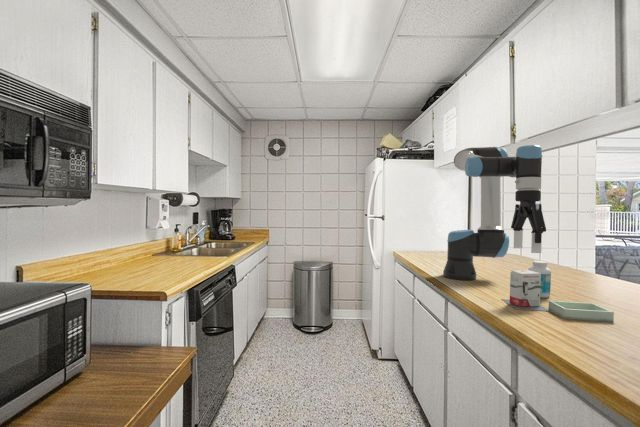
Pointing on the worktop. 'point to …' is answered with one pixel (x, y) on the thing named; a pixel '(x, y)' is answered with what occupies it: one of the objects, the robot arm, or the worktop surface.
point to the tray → (581, 311)
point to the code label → (537, 308)
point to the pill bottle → (543, 277)
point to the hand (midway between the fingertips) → (526, 250)
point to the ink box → (525, 288)
